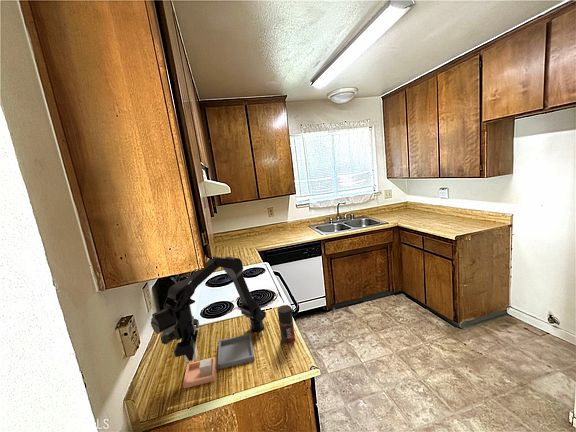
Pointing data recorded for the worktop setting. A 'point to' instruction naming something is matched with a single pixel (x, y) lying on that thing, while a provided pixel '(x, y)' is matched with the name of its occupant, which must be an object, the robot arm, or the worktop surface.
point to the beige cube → (193, 355)
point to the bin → (235, 351)
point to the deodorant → (286, 324)
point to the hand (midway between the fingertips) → (191, 356)
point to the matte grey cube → (206, 367)
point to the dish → (197, 374)
